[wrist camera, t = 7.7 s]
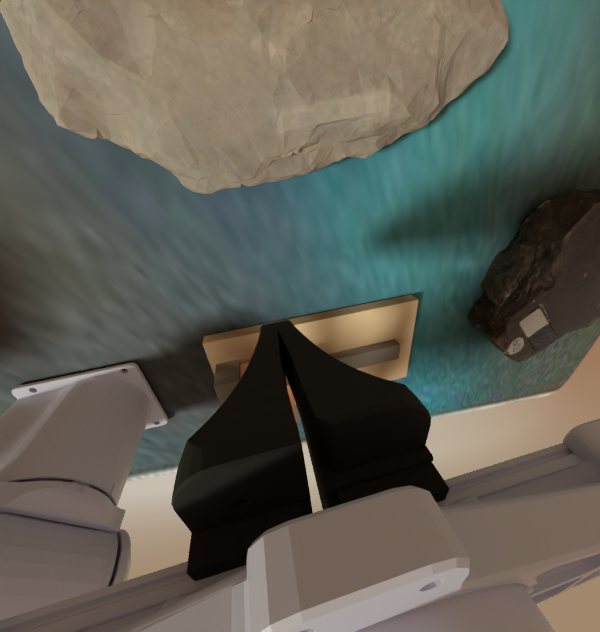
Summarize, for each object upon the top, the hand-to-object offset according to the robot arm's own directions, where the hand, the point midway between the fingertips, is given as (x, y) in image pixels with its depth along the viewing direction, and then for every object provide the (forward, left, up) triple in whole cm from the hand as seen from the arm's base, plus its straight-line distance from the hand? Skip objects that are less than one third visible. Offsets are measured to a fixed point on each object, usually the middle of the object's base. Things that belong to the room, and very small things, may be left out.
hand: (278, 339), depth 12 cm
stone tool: (+4, +12, -10) cm, 16 cm away
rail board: (+4, -10, -10) cm, 15 cm away
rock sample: (+29, -6, -10) cm, 31 cm away
